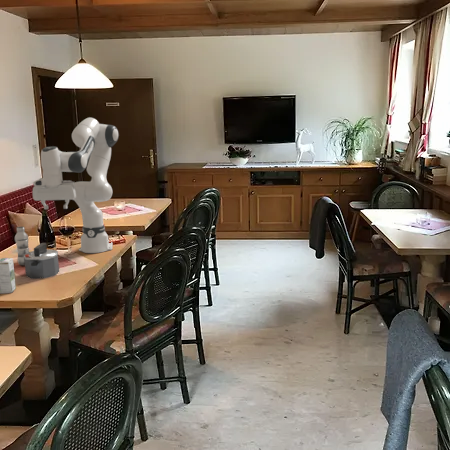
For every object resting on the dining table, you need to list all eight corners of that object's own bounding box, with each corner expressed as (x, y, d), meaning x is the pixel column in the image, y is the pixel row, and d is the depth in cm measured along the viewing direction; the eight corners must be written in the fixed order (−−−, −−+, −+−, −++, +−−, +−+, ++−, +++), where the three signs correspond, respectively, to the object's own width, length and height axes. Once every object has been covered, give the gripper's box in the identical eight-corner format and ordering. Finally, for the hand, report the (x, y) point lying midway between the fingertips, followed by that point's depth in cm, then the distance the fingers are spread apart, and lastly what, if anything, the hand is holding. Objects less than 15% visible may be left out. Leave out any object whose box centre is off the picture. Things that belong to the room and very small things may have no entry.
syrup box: (3, 289, 226) (-1, 258, 223) (16, 288, 227) (12, 257, 224) (-2, 293, 221) (-6, 261, 218) (12, 293, 221) (8, 261, 218)
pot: (35, 268, 257) (34, 250, 255) (63, 267, 257) (62, 250, 255) (20, 281, 237) (17, 262, 235) (50, 280, 237) (48, 261, 235)
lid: (31, 254, 253) (29, 241, 252) (62, 253, 253) (61, 241, 252) (18, 263, 238) (17, 250, 237) (52, 262, 238) (50, 249, 236)
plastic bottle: (27, 267, 259) (22, 228, 255) (15, 266, 261) (10, 228, 256) (34, 263, 265) (30, 226, 261) (22, 262, 267) (18, 225, 262)
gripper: (76, 179, 248) (79, 207, 251) (34, 180, 248) (37, 208, 251) (72, 181, 242) (75, 209, 245) (29, 182, 242) (33, 210, 245)
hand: (56, 208), depth 248 cm, fingers open, 8 cm apart
